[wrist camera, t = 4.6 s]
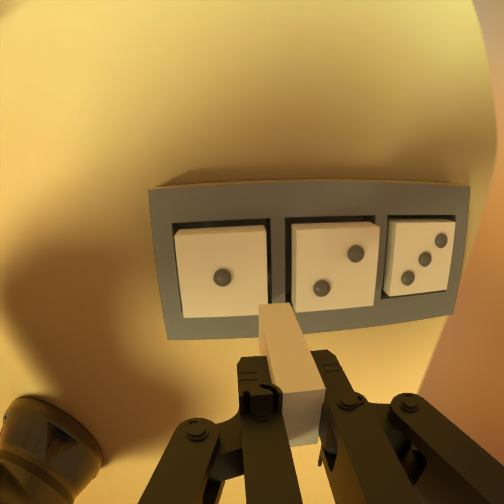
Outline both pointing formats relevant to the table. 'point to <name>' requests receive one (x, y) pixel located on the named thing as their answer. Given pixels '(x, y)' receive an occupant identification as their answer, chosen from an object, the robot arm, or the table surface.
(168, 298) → the keypad
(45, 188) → the table surface
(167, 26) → the table surface
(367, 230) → the key two
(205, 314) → the key one
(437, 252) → the key three
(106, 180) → the table surface
